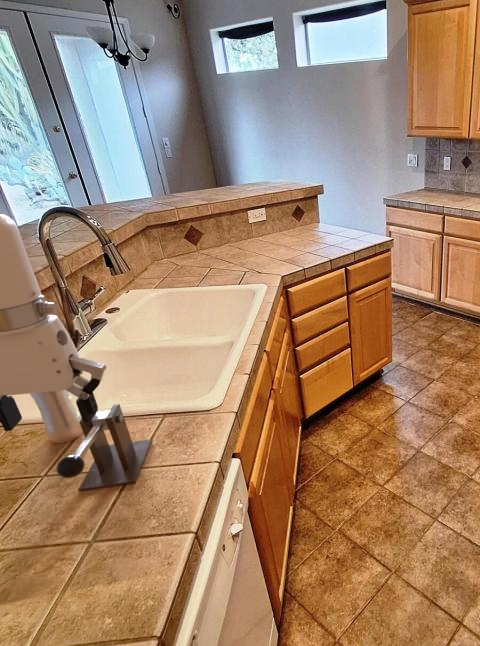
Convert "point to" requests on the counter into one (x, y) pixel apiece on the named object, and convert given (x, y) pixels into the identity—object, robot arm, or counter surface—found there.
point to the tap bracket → (114, 454)
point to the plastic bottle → (58, 415)
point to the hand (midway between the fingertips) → (53, 421)
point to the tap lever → (82, 448)
